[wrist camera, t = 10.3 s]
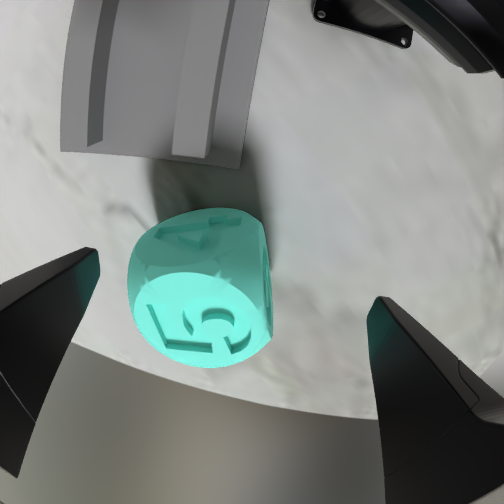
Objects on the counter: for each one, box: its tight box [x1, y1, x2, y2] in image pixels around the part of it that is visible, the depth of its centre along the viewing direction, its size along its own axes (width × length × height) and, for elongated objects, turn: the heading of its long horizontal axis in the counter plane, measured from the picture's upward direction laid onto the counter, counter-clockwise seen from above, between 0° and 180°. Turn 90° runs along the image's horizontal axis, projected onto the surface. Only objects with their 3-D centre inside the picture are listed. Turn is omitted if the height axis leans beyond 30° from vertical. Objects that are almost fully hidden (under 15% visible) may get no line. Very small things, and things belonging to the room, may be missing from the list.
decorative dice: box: [127, 208, 273, 368], centre depth 21 cm, size 8×8×8 cm
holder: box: [60, 0, 269, 170], centre depth 15 cm, size 14×14×3 cm
